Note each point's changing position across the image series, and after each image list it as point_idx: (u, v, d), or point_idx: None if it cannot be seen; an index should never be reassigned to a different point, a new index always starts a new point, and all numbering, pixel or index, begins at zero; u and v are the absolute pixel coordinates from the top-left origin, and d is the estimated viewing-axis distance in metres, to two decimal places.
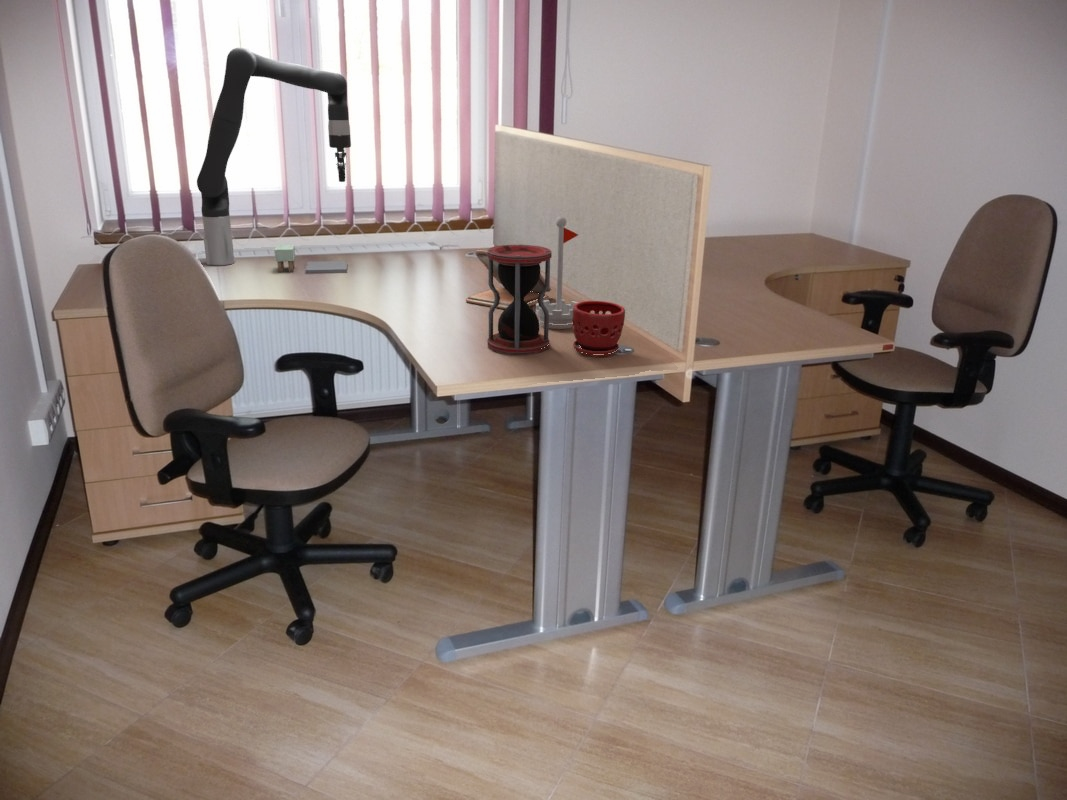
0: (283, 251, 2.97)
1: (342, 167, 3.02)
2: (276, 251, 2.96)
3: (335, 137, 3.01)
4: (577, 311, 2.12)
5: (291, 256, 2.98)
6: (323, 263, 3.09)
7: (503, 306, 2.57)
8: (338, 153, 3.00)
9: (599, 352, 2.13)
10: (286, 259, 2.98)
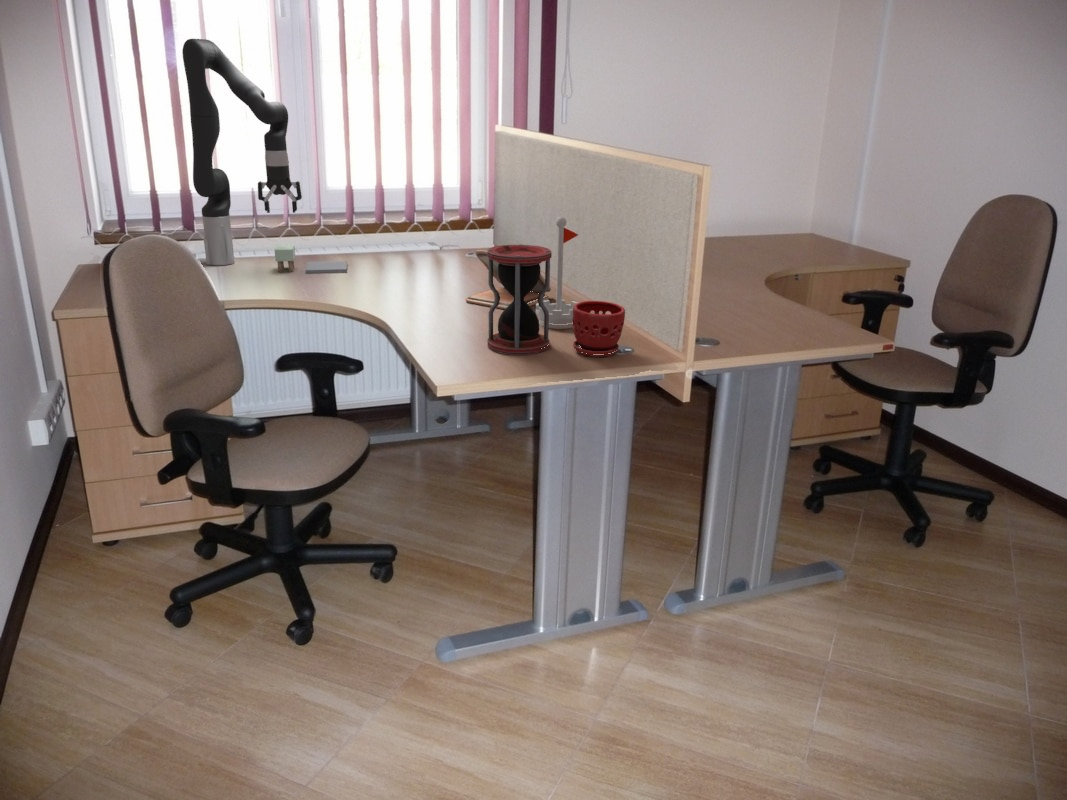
0: (283, 251, 2.97)
1: (301, 196, 2.96)
2: (276, 251, 2.96)
3: (287, 168, 2.91)
4: (577, 311, 2.12)
5: (291, 256, 2.98)
6: (323, 263, 3.09)
7: (503, 306, 2.57)
8: (299, 183, 2.94)
9: (599, 352, 2.13)
10: (286, 259, 2.98)
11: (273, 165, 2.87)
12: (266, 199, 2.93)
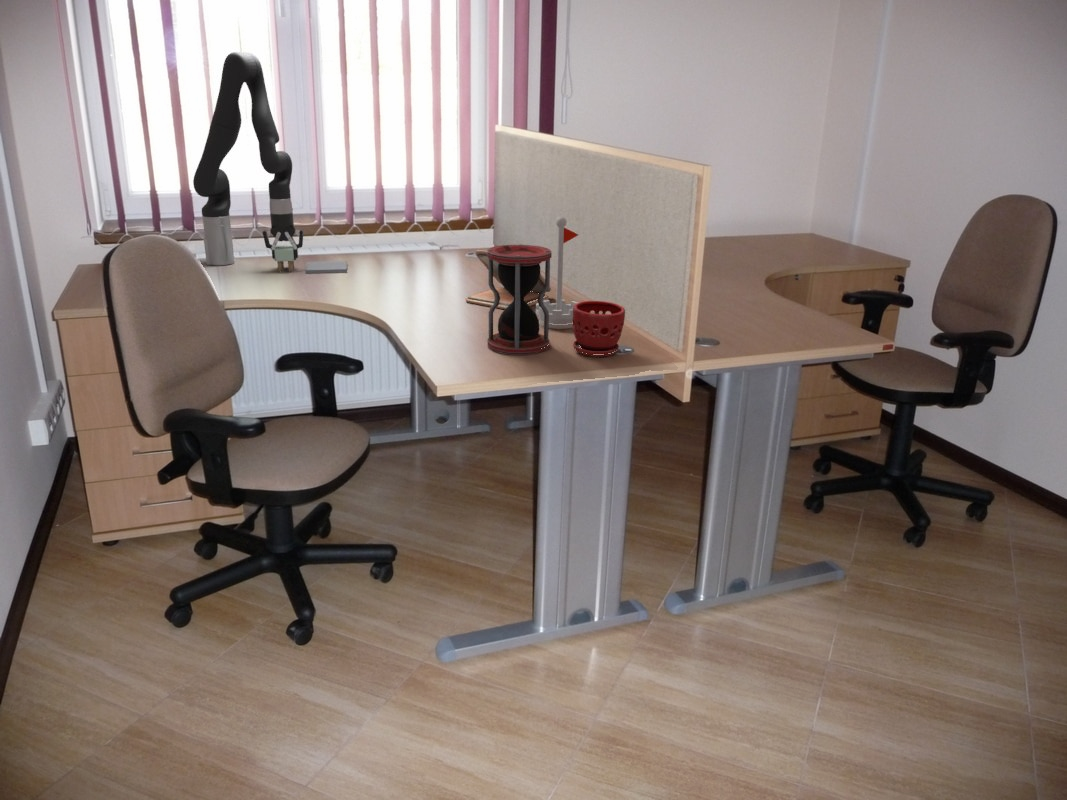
0: (283, 251, 2.97)
1: (302, 244, 3.02)
2: (276, 251, 2.96)
3: (291, 215, 2.96)
4: (577, 311, 2.12)
5: (291, 256, 2.98)
6: (323, 263, 3.09)
7: (503, 306, 2.57)
8: None
9: (599, 352, 2.13)
10: (286, 259, 2.98)
11: (277, 213, 2.93)
12: (273, 247, 2.99)
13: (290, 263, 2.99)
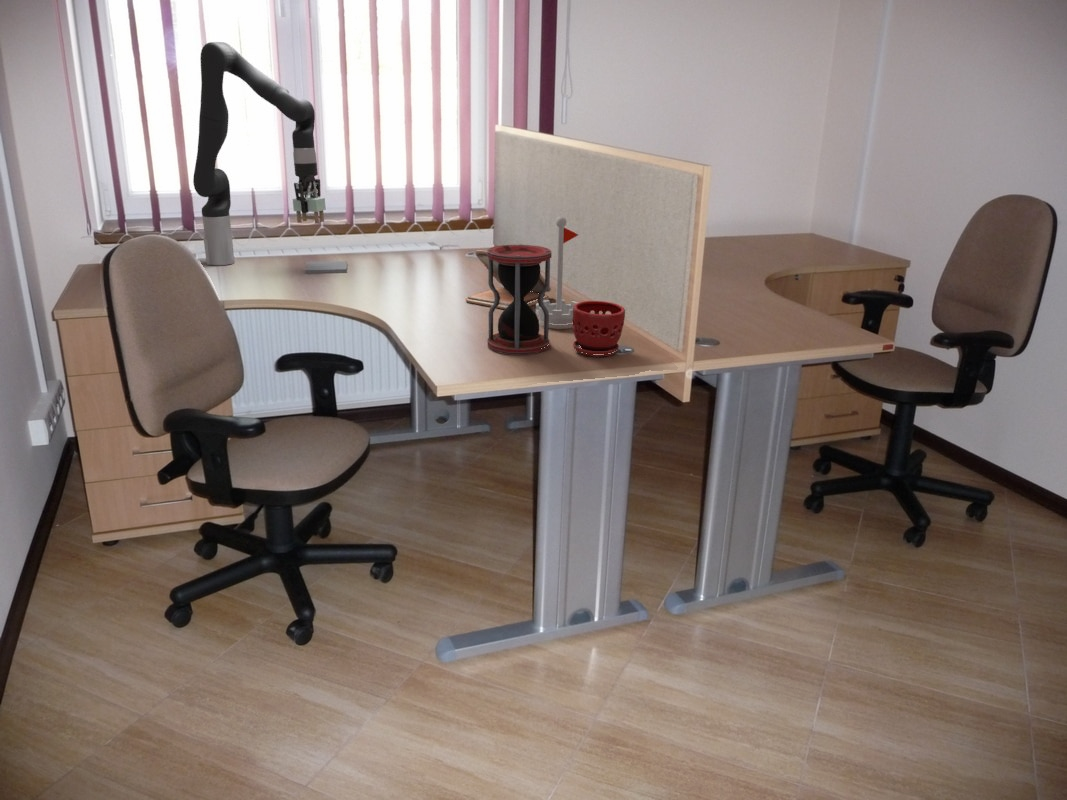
0: (320, 200, 2.96)
1: None
2: (317, 201, 2.94)
3: None
4: (577, 311, 2.12)
5: (324, 205, 2.99)
6: (323, 263, 3.09)
7: (503, 306, 2.57)
8: None
9: (599, 352, 2.13)
10: (322, 208, 2.97)
11: (313, 162, 2.91)
12: (306, 199, 2.93)
13: None
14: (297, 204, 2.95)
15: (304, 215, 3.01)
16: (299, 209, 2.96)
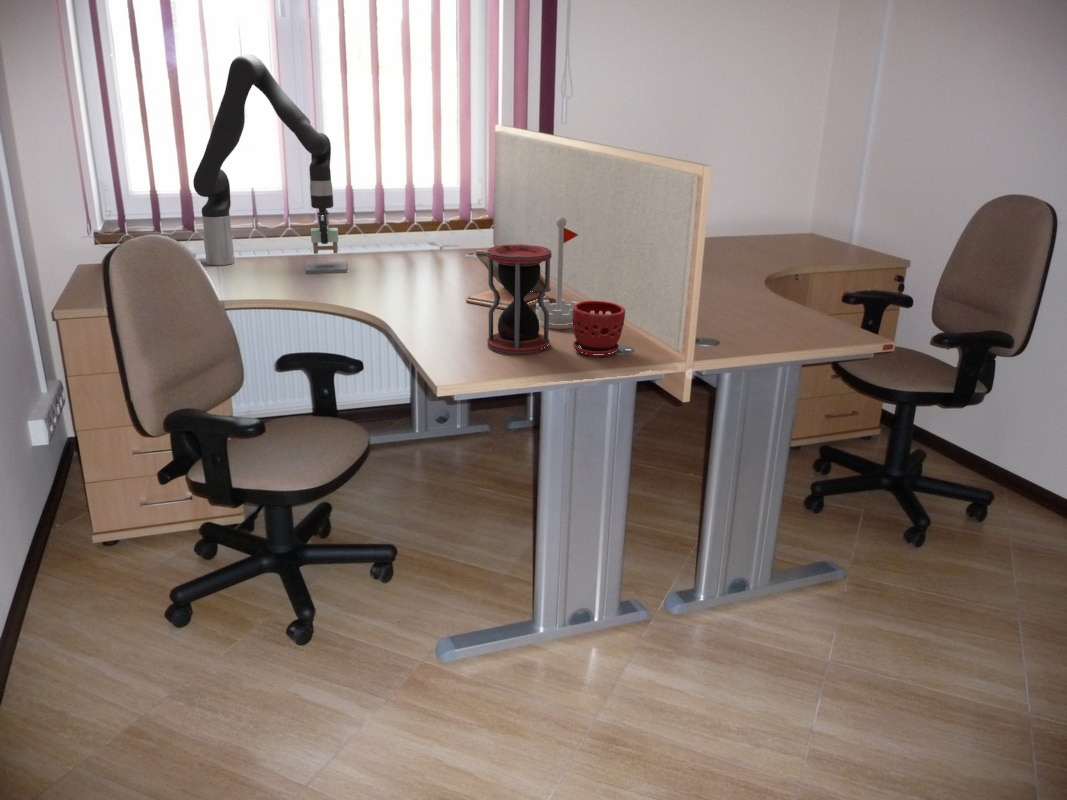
0: (337, 231, 3.02)
1: None
2: (337, 232, 3.00)
3: None
4: (577, 311, 2.12)
5: None
6: (323, 263, 3.09)
7: (503, 306, 2.57)
8: None
9: (599, 352, 2.13)
10: None
11: (332, 194, 2.97)
12: None
13: None
14: (316, 236, 2.98)
15: (316, 246, 3.04)
16: (318, 240, 2.99)
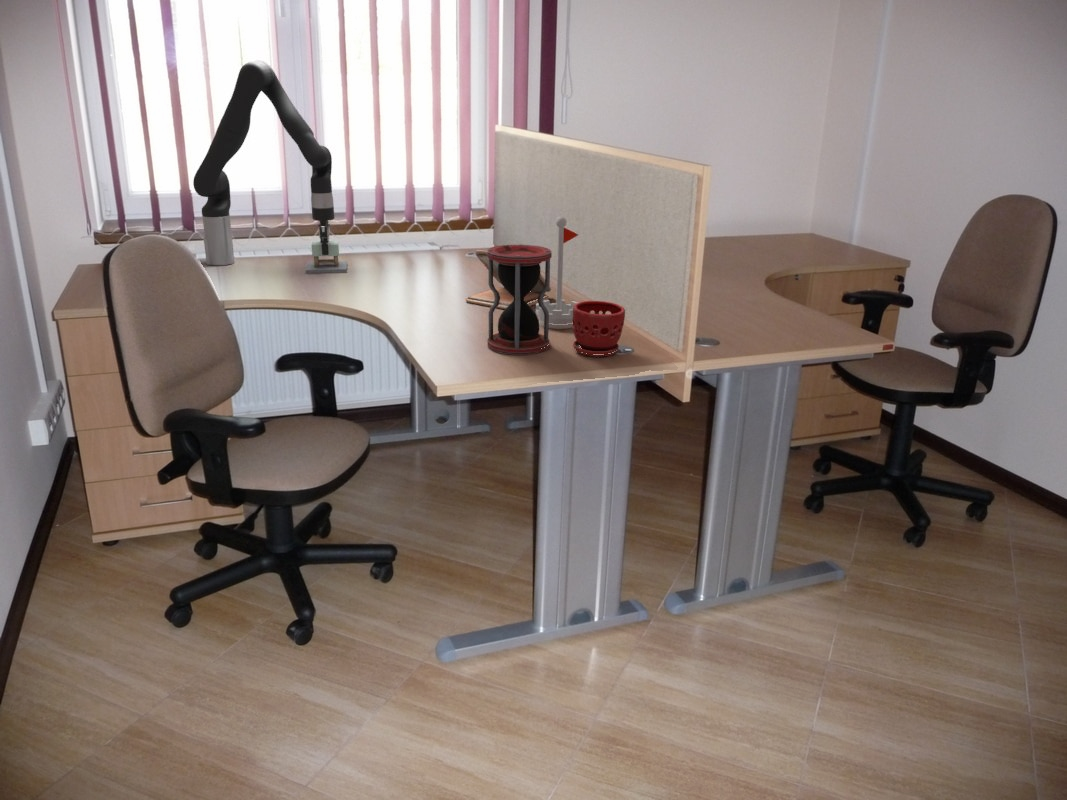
0: (338, 244, 3.04)
1: None
2: (338, 245, 3.02)
3: None
4: (577, 311, 2.12)
5: None
6: None
7: (503, 306, 2.57)
8: None
9: (599, 352, 2.13)
10: None
11: (333, 206, 2.98)
12: (328, 241, 2.99)
13: None
14: (316, 250, 3.00)
15: (317, 259, 3.06)
16: (318, 254, 3.01)
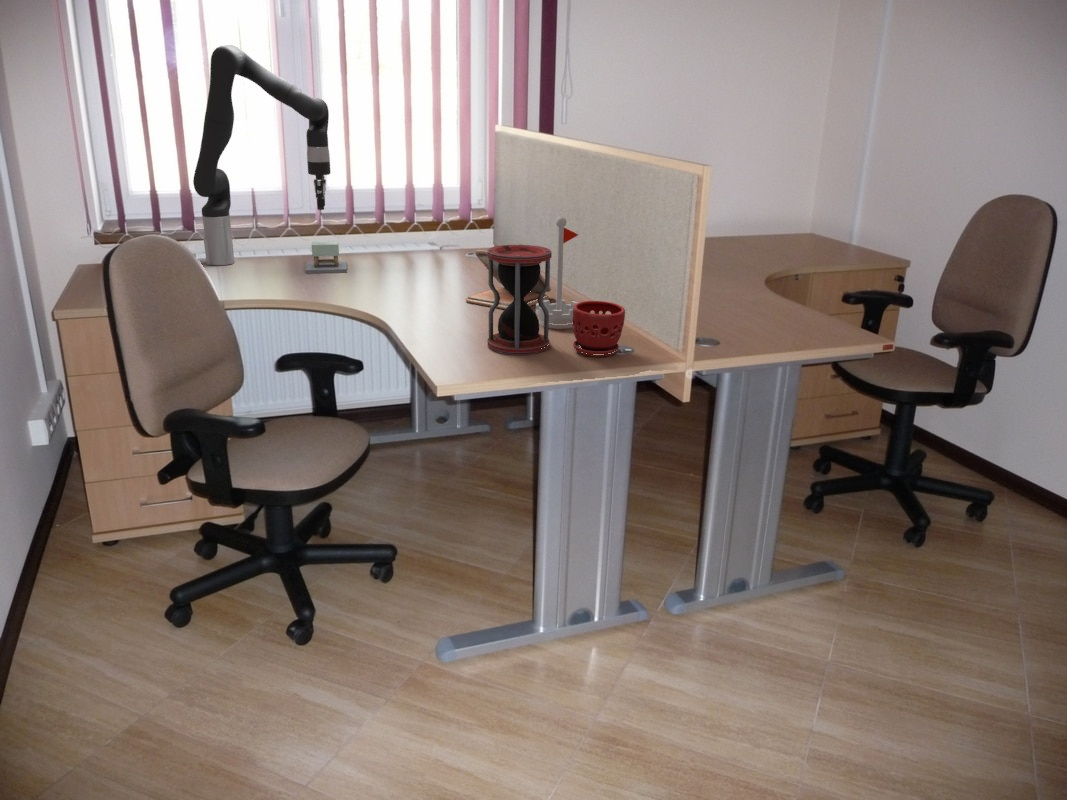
0: (338, 244, 3.04)
1: None
2: (338, 245, 3.02)
3: None
4: (577, 311, 2.12)
5: None
6: None
7: (502, 306, 2.57)
8: None
9: (599, 352, 2.13)
10: None
11: (329, 160, 2.94)
12: (323, 196, 2.95)
13: None
14: (316, 250, 3.00)
15: (317, 259, 3.06)
16: (318, 254, 3.01)
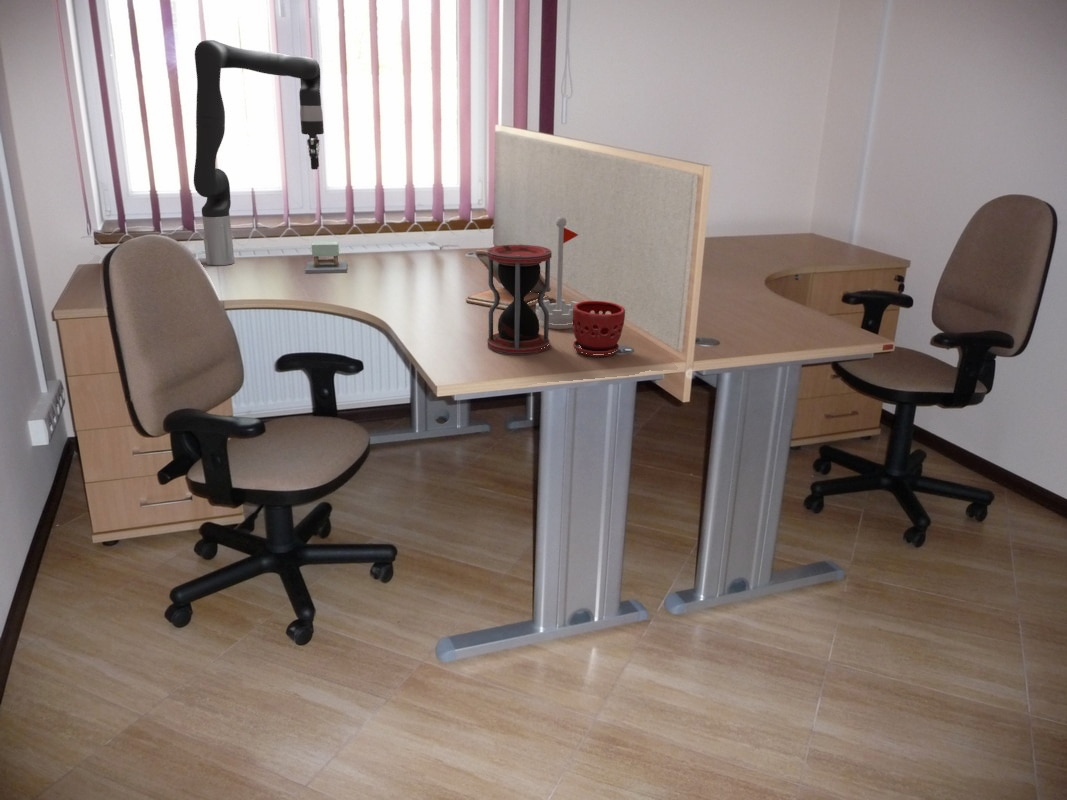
0: (338, 244, 3.04)
1: None
2: (338, 245, 3.02)
3: None
4: (577, 311, 2.12)
5: None
6: None
7: (502, 306, 2.57)
8: None
9: (599, 352, 2.13)
10: None
11: (322, 120, 2.95)
12: (317, 155, 2.96)
13: None
14: (316, 250, 3.00)
15: (317, 259, 3.06)
16: (318, 254, 3.01)
